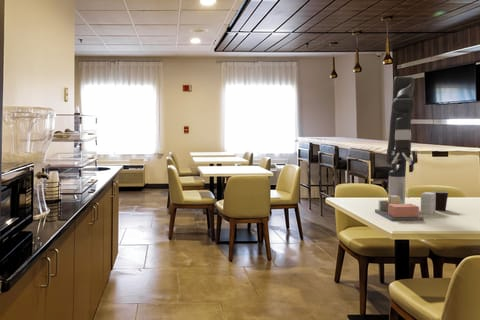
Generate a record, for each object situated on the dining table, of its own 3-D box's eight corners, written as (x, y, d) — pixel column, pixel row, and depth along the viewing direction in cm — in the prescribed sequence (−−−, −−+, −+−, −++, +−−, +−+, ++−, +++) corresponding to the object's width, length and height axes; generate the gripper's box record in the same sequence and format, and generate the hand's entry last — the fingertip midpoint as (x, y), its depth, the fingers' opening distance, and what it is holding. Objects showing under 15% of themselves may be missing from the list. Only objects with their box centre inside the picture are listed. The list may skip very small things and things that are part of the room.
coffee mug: (443, 211, 237) (443, 193, 236) (427, 209, 243) (428, 191, 243) (453, 209, 244) (453, 191, 243) (437, 207, 251) (438, 190, 250)
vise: (374, 212, 237) (375, 200, 236) (404, 211, 237) (404, 199, 237) (391, 220, 213) (391, 207, 213) (423, 220, 214) (423, 207, 213)
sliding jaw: (387, 213, 224) (387, 203, 223) (410, 213, 224) (410, 203, 224) (394, 217, 214) (394, 207, 214) (418, 216, 215) (418, 206, 214)
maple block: (388, 210, 233) (388, 195, 233) (396, 210, 233) (396, 195, 233) (391, 212, 228) (391, 196, 228) (400, 212, 228) (400, 196, 228)
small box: (424, 210, 240) (425, 191, 239) (435, 212, 236) (436, 192, 236) (420, 212, 234) (420, 193, 233) (431, 214, 230) (431, 194, 229)
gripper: (420, 139, 213) (420, 172, 213) (393, 139, 224) (393, 171, 224) (412, 138, 208) (412, 172, 209) (385, 139, 219) (385, 171, 220)
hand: (402, 171), depth 216 cm, fingers open, 8 cm apart
